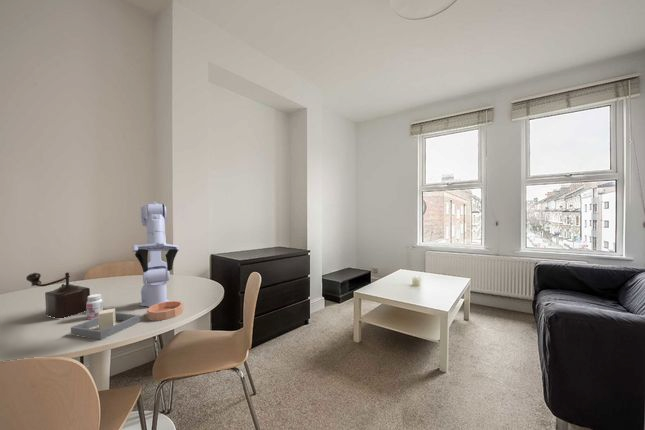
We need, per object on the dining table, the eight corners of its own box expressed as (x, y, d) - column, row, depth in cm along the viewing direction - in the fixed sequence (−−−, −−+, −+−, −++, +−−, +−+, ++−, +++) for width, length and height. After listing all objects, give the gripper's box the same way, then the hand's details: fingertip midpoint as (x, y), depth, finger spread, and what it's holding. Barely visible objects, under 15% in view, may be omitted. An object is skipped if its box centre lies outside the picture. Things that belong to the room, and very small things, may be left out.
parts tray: (71, 334, 89) (70, 327, 89) (113, 318, 102) (112, 311, 102) (100, 339, 85) (100, 332, 85) (140, 321, 98) (140, 315, 98)
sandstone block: (98, 331, 91) (98, 314, 90) (101, 327, 94) (100, 310, 94) (113, 328, 93) (112, 312, 92) (115, 324, 96) (114, 308, 96)
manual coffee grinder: (76, 306, 115) (74, 265, 114) (91, 309, 111) (89, 267, 110) (26, 320, 100) (23, 273, 100) (41, 325, 96) (38, 276, 96)
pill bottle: (85, 320, 100) (84, 298, 100) (89, 315, 104) (88, 294, 104) (101, 317, 102) (100, 296, 102) (104, 313, 106) (103, 292, 106)
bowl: (140, 318, 101) (139, 310, 101) (166, 306, 112) (166, 299, 112) (165, 321, 98) (164, 313, 98) (189, 309, 109) (189, 302, 109)
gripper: (137, 229, 89) (138, 268, 85) (181, 231, 100) (184, 266, 96) (129, 236, 93) (130, 274, 89) (173, 237, 104) (176, 271, 100)
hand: (158, 270), depth 93 cm, fingers open, 7 cm apart
